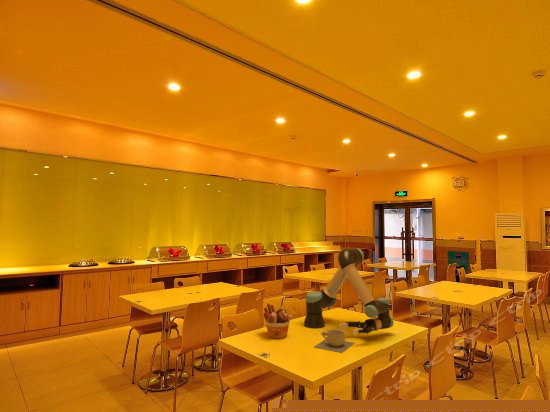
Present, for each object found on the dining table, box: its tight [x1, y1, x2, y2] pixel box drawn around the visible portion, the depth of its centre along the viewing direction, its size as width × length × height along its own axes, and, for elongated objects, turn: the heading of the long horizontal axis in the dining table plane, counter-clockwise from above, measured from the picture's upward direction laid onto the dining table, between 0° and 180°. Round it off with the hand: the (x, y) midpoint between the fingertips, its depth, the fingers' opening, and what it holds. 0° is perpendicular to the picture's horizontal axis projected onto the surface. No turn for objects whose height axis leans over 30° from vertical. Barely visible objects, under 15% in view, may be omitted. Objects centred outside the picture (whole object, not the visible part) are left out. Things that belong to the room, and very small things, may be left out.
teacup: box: [321, 328, 346, 347], centre depth 204 cm, size 14×11×8 cm
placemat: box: [313, 338, 355, 354], centre depth 204 cm, size 18×20×1 cm
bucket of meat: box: [263, 303, 293, 340], centre depth 223 cm, size 20×16×20 cm
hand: (346, 329), depth 209 cm, fingers open, 13 cm apart
